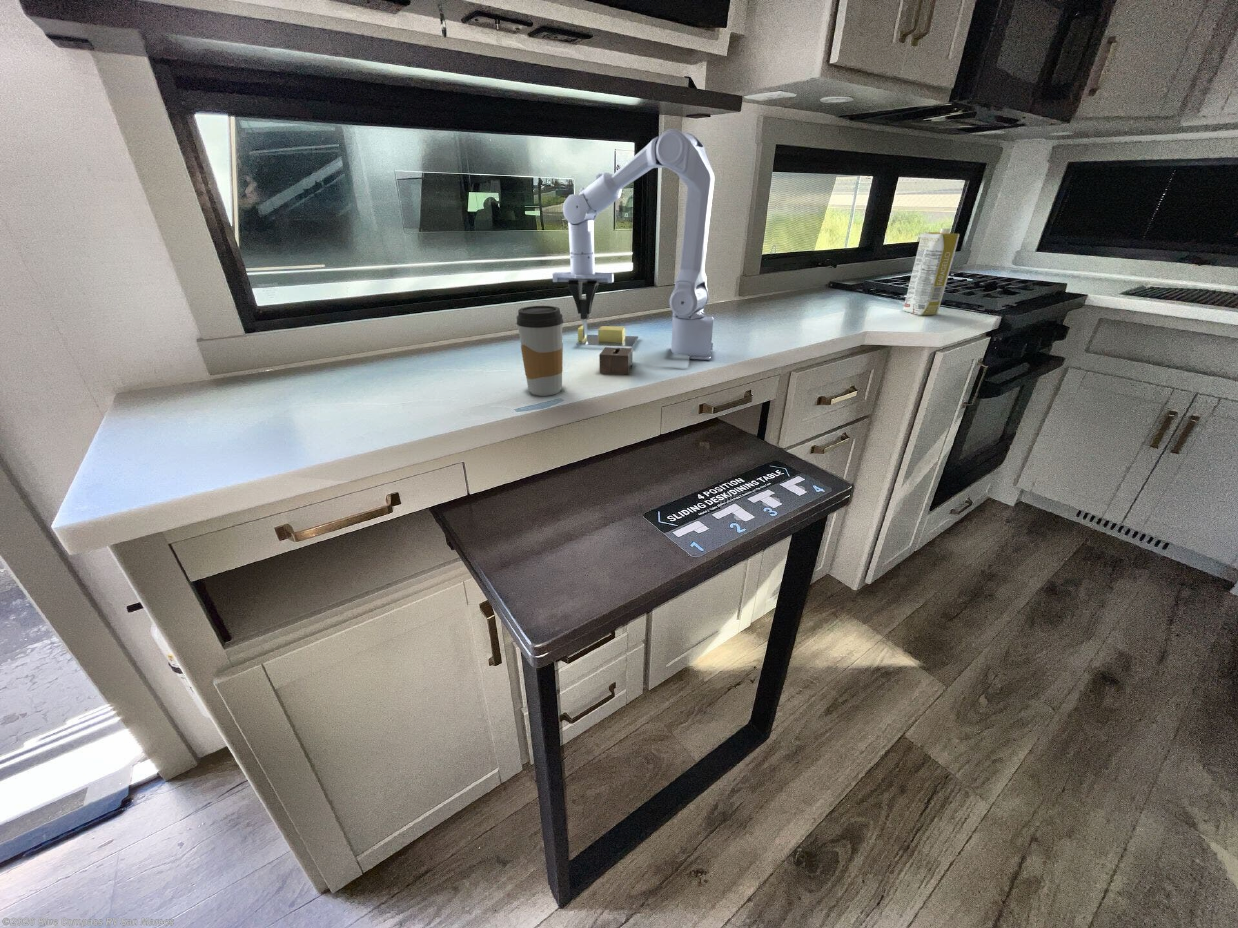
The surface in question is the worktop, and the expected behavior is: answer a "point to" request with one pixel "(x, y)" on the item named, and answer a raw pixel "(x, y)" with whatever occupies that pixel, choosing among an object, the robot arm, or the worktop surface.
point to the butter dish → (594, 341)
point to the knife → (584, 316)
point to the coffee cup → (541, 348)
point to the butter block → (611, 334)
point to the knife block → (616, 360)
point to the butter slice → (581, 334)
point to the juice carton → (930, 272)
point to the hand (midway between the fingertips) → (584, 313)
